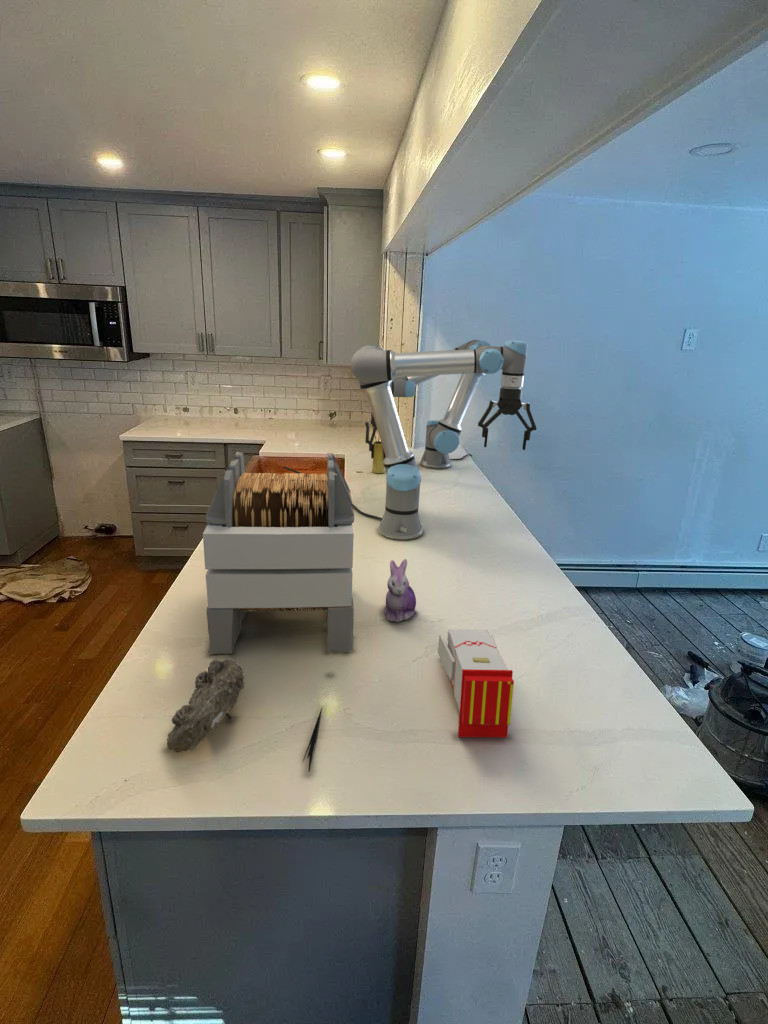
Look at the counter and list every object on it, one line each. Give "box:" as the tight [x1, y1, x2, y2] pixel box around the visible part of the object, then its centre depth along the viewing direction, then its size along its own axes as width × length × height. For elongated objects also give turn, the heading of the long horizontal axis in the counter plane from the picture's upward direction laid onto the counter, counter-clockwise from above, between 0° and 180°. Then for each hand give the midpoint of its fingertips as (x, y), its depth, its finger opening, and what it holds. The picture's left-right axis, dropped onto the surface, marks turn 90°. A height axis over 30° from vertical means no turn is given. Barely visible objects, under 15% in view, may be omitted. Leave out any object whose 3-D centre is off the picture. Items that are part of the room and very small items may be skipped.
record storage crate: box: [202, 451, 355, 655], centre depth 137 cm, size 34×33×41 cm
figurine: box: [384, 558, 417, 623], centre depth 145 cm, size 9×10×15 cm
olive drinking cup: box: [371, 440, 386, 474], centre depth 271 cm, size 6×6×14 cm
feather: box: [301, 673, 332, 771], centre depth 108 cm, size 2×28×2 cm
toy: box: [437, 628, 515, 738], centre depth 117 cm, size 12×13×30 cm
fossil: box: [166, 658, 245, 754], centre depth 106 cm, size 22×10×15 cm
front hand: (504, 447), depth 203 cm, fingers open, 13 cm apart
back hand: (378, 458), depth 271 cm, fingers closed on olive drinking cup, 5 cm apart
